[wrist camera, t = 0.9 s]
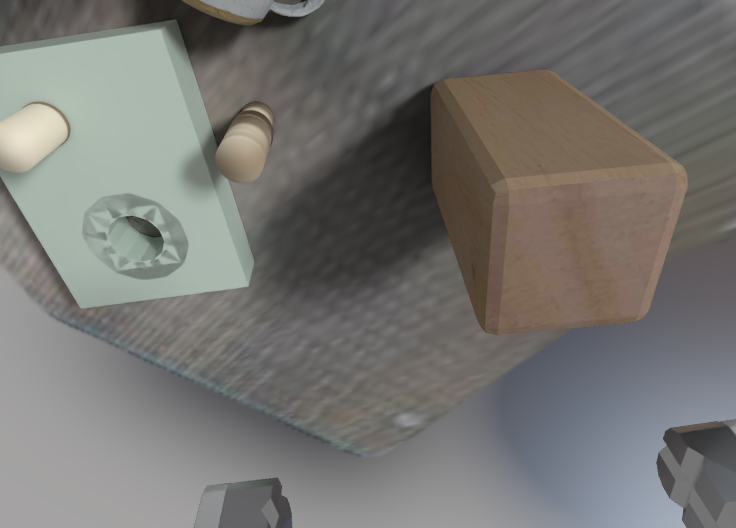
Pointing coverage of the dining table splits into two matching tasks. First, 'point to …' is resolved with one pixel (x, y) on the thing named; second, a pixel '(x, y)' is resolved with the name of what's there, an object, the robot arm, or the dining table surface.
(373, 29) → the dining table surface
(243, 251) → the board
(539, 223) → the wooden block
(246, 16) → the ceramic mug
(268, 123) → the peg
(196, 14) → the dining table surface
